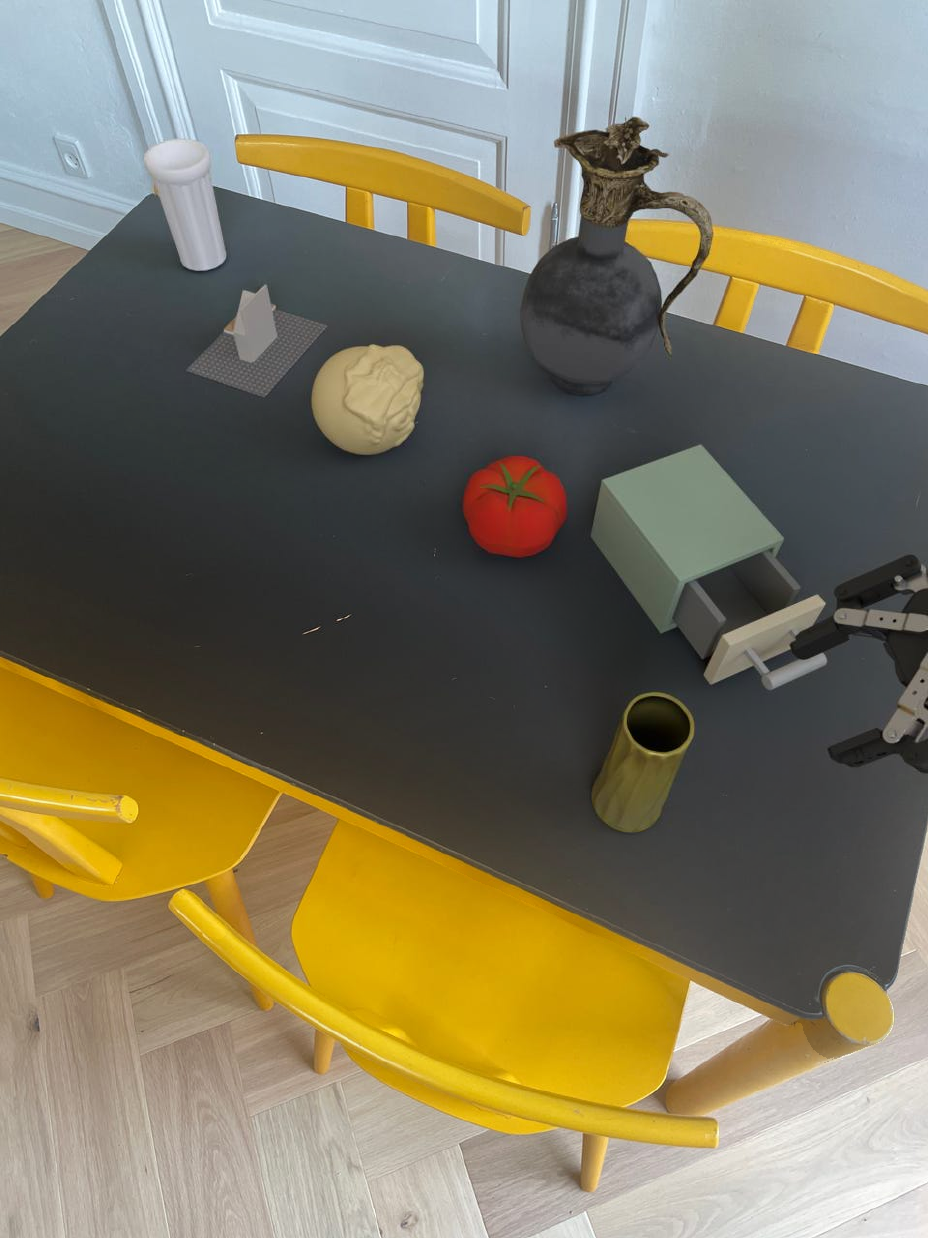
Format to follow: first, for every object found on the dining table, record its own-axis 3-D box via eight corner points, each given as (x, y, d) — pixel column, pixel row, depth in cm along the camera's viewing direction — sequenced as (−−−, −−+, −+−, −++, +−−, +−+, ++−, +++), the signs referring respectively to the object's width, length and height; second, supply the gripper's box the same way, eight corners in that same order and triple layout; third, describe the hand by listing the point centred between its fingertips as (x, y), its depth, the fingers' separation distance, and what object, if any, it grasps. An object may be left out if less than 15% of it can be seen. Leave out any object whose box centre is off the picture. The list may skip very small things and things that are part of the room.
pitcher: (537, 333, 109) (562, 77, 85) (681, 375, 105) (752, 120, 80) (503, 384, 104) (519, 127, 79) (654, 432, 99) (721, 176, 75)
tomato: (511, 478, 95) (515, 427, 89) (583, 534, 91) (593, 485, 84) (439, 527, 91) (438, 477, 85) (511, 589, 86) (515, 541, 80)
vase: (585, 824, 73) (610, 750, 61) (596, 759, 76) (622, 678, 64) (657, 841, 72) (697, 770, 60) (665, 775, 75) (704, 695, 63)
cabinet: (757, 593, 86) (784, 538, 79) (660, 633, 84) (679, 581, 76) (682, 501, 93) (701, 443, 86) (590, 536, 90) (601, 479, 83)
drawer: (829, 679, 80) (857, 639, 74) (737, 721, 77) (759, 684, 72) (724, 552, 88) (742, 508, 83) (638, 586, 86) (651, 543, 80)
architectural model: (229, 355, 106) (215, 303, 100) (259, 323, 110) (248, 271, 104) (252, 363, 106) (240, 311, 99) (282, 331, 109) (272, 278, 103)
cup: (193, 284, 114) (163, 179, 103) (163, 257, 118) (130, 151, 106) (245, 262, 117) (221, 156, 106) (214, 235, 121) (188, 131, 109)
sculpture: (390, 483, 95) (384, 408, 86) (299, 446, 98) (283, 370, 89) (439, 419, 100) (438, 342, 91) (351, 386, 103) (342, 309, 94)
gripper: (987, 487, 55) (759, 604, 64) (1102, 678, 47) (823, 783, 55) (1021, 535, 59) (805, 638, 68) (1130, 716, 51) (870, 807, 60)
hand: (813, 703), depth 62 cm, fingers open, 8 cm apart
